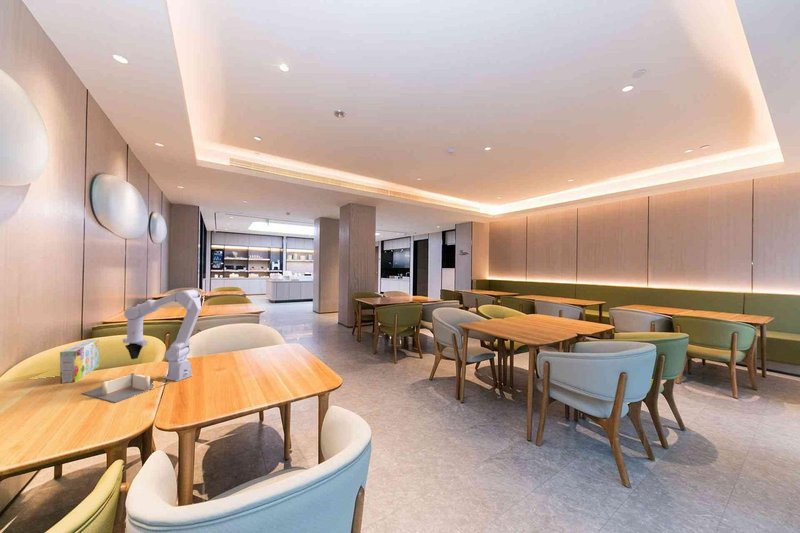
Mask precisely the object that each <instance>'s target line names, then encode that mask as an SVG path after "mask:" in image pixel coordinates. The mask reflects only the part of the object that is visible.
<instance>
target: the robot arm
mask: <svg viewBox="0 0 800 533" xmlns="http://www.w3.org/2000/svg"><path fill="white" fill-rule="evenodd" d="M201 298H202V295H201V293H200V292H199V291H198V290H197V289H196V288H195V289H194V288H192V289H187V290H179V291H177V292H173V293H171V294H167V295H166V296H163V297H161V298H160V299H157V300H155V299H147V300H145V302H143V303H141V304H140V303H138V304H136V306H134V307H133V306H132V307H128V308H126V309H125V311H124V312H123V313H124V314H123V315H124V317H125V319H127V325H126V326H127V328H126V329H127V330H126V337H125V338H122V343H123V344H126V345H124V347H125V348H126V349H127V351H128V354H129V356H130V359H131V360H136V359H138V358H139V356H140V353H141V351H142V349H143V347H145V346H148V340H146V339H144V337H143V336H144V320H145V317H146V315H147V316H148V315H149V314H151V313H153V312H157V311H158V310H160V307H162V306H165V305H168V304H169V303H173V302H175V303H176V302H177V303H178V304H179V305H181V306H182V307H183V308H185V310H186V313H185V315H184V318H183V320H182V322H181V326H180V327H179V330H178V333H177V336H176V339H175V340H174V341H173V342H172V343H171V345H170V346H169V348H168V349H167V350H166V351H165V354H164V357H165V359H166V361H167V362H168V364H167V365H168V366H167V369H168V370H167V372H168V373H167V375H166V376H164V377H165V378H166V379H165V380H169V381H175V382H179V381H182V380H184V379H187V378H189V377H193V376H194V374H193V373H192V362H191V361H190V360H189V359H188V354H189V353H190V351H191V342H190V339H191V336H192V333H193V331H194V329H195V326H196V324H197V321H198V318H199V316H200V313H201V311H202V302H201Z"/></svg>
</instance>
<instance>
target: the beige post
mask: <svg viewBox="0 0 800 533" xmlns="http://www.w3.org/2000/svg"><path fill="white" fill-rule="evenodd" d="M134 374H135V372H134V373H130V374H127V375H124V376H120V377H117V378H114V379H111V380H104V381H102V384H101V385H102V386H101V387H102V395H106V394H109V393H112V392H114V391H117V390H120V389H123V388H126V387H129V386H131V385H132V382H133V375H134Z"/></svg>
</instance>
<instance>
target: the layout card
mask: <svg viewBox="0 0 800 533" xmlns="http://www.w3.org/2000/svg"><path fill="white" fill-rule="evenodd" d="M154 380H155V379H153V378H150V389H152V388H153V386H154V385H153V384H152V383H153V381H154ZM164 382H165V385H164V386H166V385H167V384H169V382H166V381H164ZM150 389H149V391H151V390H150ZM152 390H153V389H152ZM145 391H147V392H149V391H148V390H144V389H140V388H136V387H132V385H131V386H129V387H126V388H123V389H120V390H117V391H114V392H112V393H109V394H106V395H102V386H100V387H96V388H94V389H90V390H87V391H83V392H81V395H84V396H88V397H92V398H96V399H98V400H99V399H100V400H102V401H107V402H111V403H114V404H115V403H119V402H121V400H122V401H124V399H125V400H127V399H129V397H130V398H132V396H133V397H135V396H134V395H136V396H138V395H141V394H143V392H144V393H146V392H145ZM140 393H141V394H140ZM137 394H138V395H137Z"/></svg>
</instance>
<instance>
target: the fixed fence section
mask: <svg viewBox="0 0 800 533" xmlns="http://www.w3.org/2000/svg"><path fill="white" fill-rule="evenodd" d="M150 379H151V376H150V375H142V374H137V373H134V375H133V382H132V387H136V388H140V389H144V390H149V389H150ZM149 391H150V390H149Z"/></svg>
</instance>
